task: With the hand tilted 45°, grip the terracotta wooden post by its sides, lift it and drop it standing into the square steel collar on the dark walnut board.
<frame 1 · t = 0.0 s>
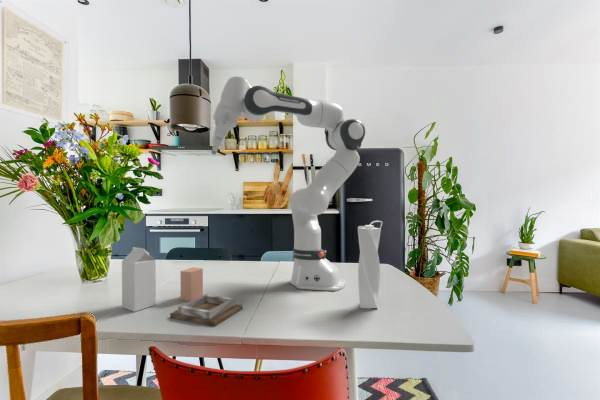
hand: (213, 152, 113), 52 cm above the table, tool tilted 20°, fingers open, 8 cm apart
walnut board: (207, 313, 93), on the table
terracotta post: (191, 298, 107), on the table
milk carton: (139, 307, 98), on the table
skyscraper: (369, 306, 100), on the table
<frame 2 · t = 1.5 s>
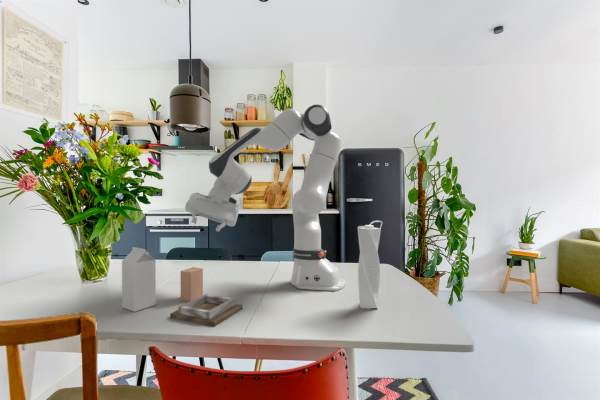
hand: (205, 226, 115), 24 cm above the table, tool tilted 45°, fingers open, 8 cm apart
nothing on the table moved.
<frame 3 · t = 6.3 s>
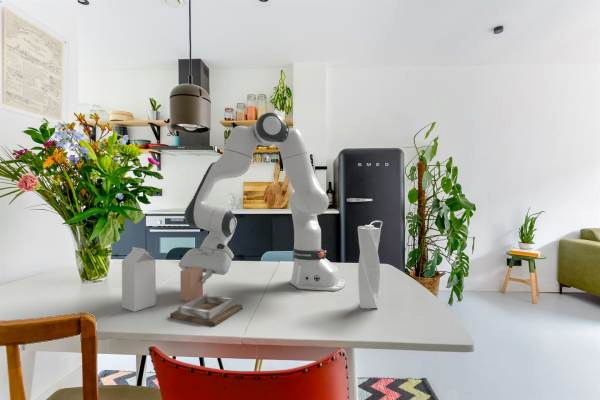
hand: (194, 281, 108), 5 cm above the table, tool tilted 45°, fingers closed on terracotta post, 4 cm apart
terracotta post: (191, 298, 107), on the table, touching gripper
everything else where it was.
when the fingers open (8 cm above the table, at t = 13.4 s): terracotta post drops 1 cm, resting on walnut board.
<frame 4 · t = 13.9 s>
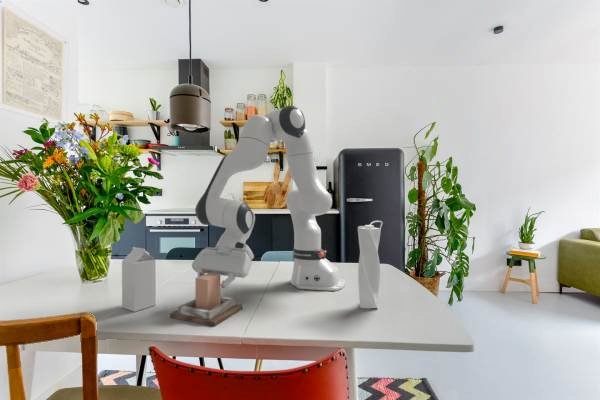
hand: (210, 285, 94), 8 cm above the table, tool tilted 45°, fingers open, 8 cm apart
terracotta post: (208, 308, 93), point 1 cm above the table, touching walnut board
everything else where it was.
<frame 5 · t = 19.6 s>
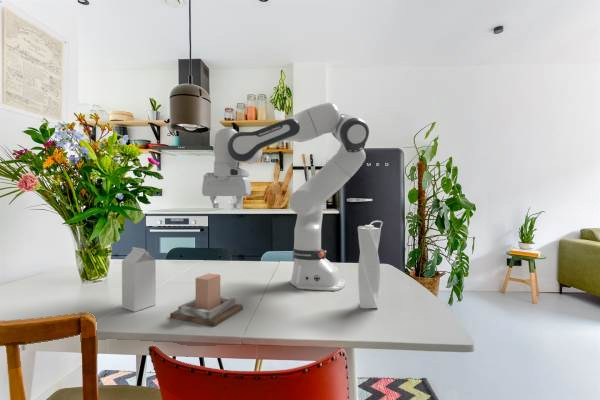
hand: (225, 208, 116), 31 cm above the table, tool pointing down, fingers open, 8 cm apart
nothing on the table moved.
at the end: terracotta post 0.2 cm off-centre on the walnut board, point 1.2 cm above the walnut board's base; terracotta post tilted 0°; the gripper is holding nothing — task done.
